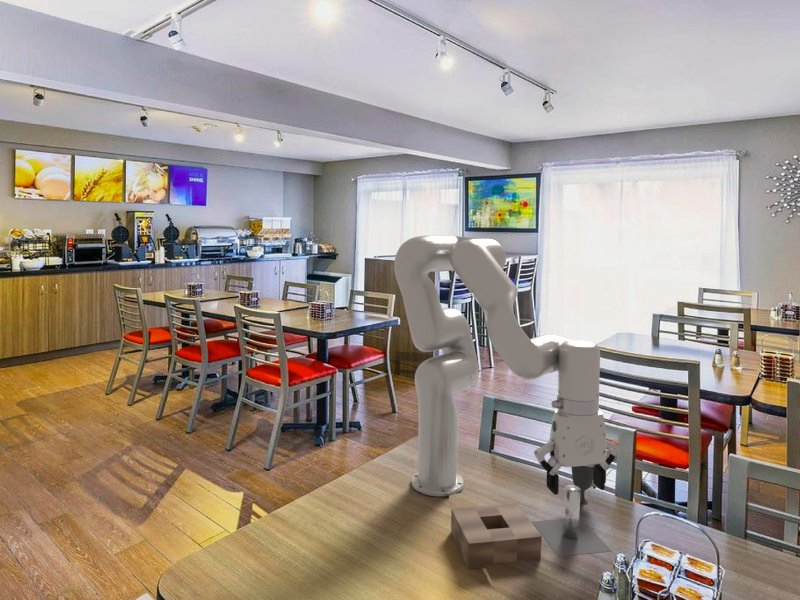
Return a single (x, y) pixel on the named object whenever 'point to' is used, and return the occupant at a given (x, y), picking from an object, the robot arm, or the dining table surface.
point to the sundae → (582, 479)
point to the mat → (566, 547)
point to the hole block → (494, 535)
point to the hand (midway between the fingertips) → (576, 489)
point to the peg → (571, 512)
